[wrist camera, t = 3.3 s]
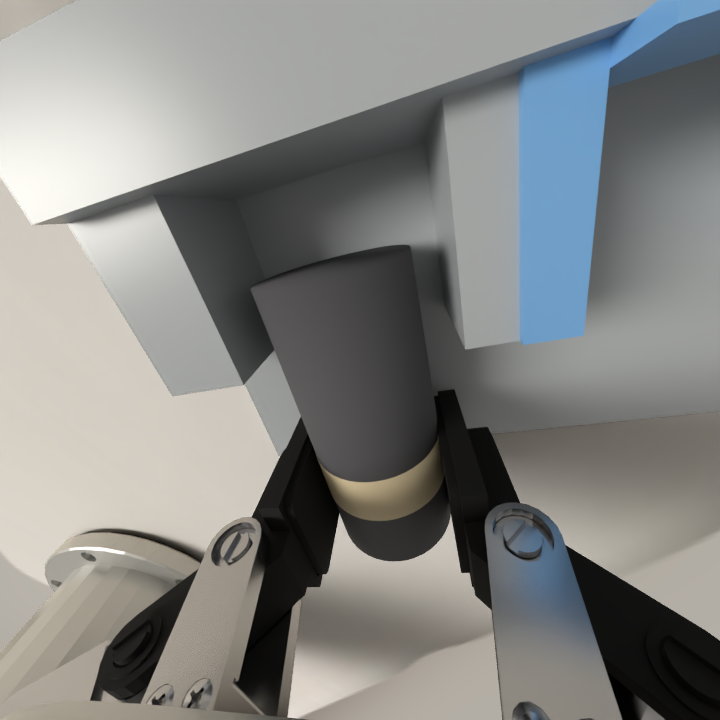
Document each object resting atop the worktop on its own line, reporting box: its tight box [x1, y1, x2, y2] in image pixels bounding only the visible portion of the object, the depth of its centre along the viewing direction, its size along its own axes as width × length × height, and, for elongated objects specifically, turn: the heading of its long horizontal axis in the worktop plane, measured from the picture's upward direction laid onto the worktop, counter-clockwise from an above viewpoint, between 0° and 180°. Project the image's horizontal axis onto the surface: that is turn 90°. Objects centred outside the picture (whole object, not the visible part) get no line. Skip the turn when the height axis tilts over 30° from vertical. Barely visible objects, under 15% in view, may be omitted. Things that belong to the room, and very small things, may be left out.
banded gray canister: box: [250, 245, 451, 561], centre depth 8 cm, size 8×4×4 cm, turn 13°
